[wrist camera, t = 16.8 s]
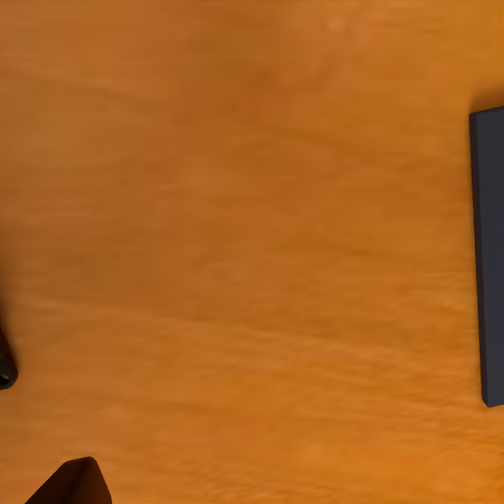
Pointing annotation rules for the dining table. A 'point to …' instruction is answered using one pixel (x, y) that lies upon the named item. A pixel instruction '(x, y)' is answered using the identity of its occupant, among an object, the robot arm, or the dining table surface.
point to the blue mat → (489, 245)
